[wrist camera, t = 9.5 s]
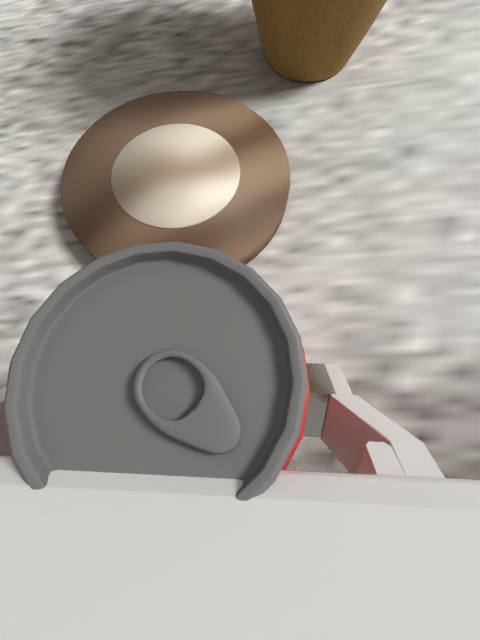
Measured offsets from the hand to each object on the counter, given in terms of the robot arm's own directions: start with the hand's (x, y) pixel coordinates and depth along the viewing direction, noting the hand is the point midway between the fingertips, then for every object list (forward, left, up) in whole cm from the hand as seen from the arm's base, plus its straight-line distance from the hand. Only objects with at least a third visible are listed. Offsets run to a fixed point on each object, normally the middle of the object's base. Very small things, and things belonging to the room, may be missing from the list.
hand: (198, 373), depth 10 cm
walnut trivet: (+13, -7, -8) cm, 17 cm away
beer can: (0, 0, -7) cm, 7 cm away
